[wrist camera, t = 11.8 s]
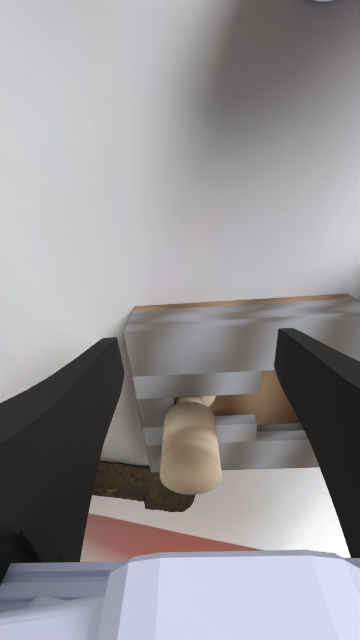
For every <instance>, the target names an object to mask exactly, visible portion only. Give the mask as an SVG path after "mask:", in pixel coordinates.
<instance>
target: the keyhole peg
mask: <svg viewBox="0 0 360 640" xmlns="http://www.w3.org/2000/svg"><path fill="white" fill-rule="evenodd" d="M215 397H216V396H194V397H174V398H175V405H174V406H172V407H171V408H170V409H169V410H168V411H167V412H166V414H165V419H164V431H163V443H162V455H161V468H160V479H161V482H162V483H163V484H164V486H166V487H167V488H168V489H170V490H172V491H174V492H177V493H181V494H189V495H194V494H201V493H205V492H208V491H210V490H212V489H214V488H215V487H216V486H217V485H218V484H219V483H220V482H221V479H222V470H221V463H220V456H219V449H218V441H217V434H216V427H215V420H214V415H213V413H212V411H211V410H210V409H209V408H208V407H209V406H210V405H211V404H212V403H213V401H214V400H215Z"/></svg>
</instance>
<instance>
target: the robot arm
mask: <svg viewBox="0 0 360 640" xmlns="http://www.w3.org/2000/svg"><path fill="white" fill-rule="evenodd" d="M274 368H275V371H276V374H277V377H278V380H279V383H280V385H281V387H282V389H283V391H284V393H285V395H286V397H287V399H288V401H289V403H290V405H291V407H292V408H293V410H294V412H295V414H296V416H297V418H298V420H299V422H300V423H301V425H302V427H303V429H304V431H305V433H306V435H307V437H308V440H309V442H310V444H311V447H312V449H313V452H314V454H315V457H316V459H317V462H318V464H319V467H320V469H321V472H322V475H323V477H324V480H325V482H326V485H327V488H328V490H329V493H330V496H331V499H332V502H333V505H334V507H335V510H336V513H337V516H338V519H339V522H340V525H341V528H342V531H343V534H344V537H345V540H346V543H347V546H348V549H349V553H350V556H351V558H342V557H340V556H338V555H336V554H335V553H327V552H318V551H310V550H279V551H225V552H224V551H222V552H221V551H220V552H162V553H155V554H148V555H142V556H135V557H133V558H131V559H129V560H127V561H125V562H80V557H81V551H82V545H83V539H84V533H85V528H86V522H87V517H88V512H89V507H90V501H91V496H92V492H93V487H94V482H95V478H96V473H97V468H98V464H99V460H100V456H101V451H102V447H103V444H104V441H105V437H106V435H107V432H108V429H109V426H110V423H111V420H112V417H113V414H114V412H115V409H116V406H117V403H118V400H119V397H120V394H121V389H122V385H123V379H124V369H123V364H122V359H121V355H120V350H119V345H118V341H117V337H113V338H103V339H101V340H100V341H98V342H97V343H95V344H94V345H93V346H91V347H90V348H89V349H88V350H86V351H85V352H84V353H82V354H81V355H80V356H78V357H77V358H76V359H74V360H73V361H72V362H70V363H69V364H67V365H66V366H64V367H63V368H61V369H60V370H59V371H57V372H56V373H54V374H53V375H51V376H50V377H48V378H47V379H45V380H43V381H42V382H40V383H38V384H36V385H35V386H33V387H31V388H30V389H28V390H26V391H24V392H22V393H20V394H18V395H16V396H14V397H12V398H10V399H8V400H6V401H4V402H2V403H0V640H360V361H358V360H356V359H354V358H351V357H349V356H347V355H345V354H343V353H341V352H339V351H337V350H335V349H333V348H331V347H329V346H327V345H325V344H323V343H322V342H320V341H318V340H316V339H314V338H312V337H310V336H309V335H307V334H305V333H303V332H301V331H299V330H297V329H294V328H279V329H278V336H277V345H276V353H275V361H274Z"/></svg>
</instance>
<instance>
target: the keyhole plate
mask: <svg viewBox="0 0 360 640" xmlns="http://www.w3.org/2000/svg"><path fill="white" fill-rule="evenodd" d="M279 328H294V329H297V330H299V331H301V332H303V333H305V334H307V335H309V336H310V337H312V338H314V339H316V340H318V341H320V342H322V343H323V344H325V345H327V346H329V347H331V348H333V349H335V350H337V351H339V352H341V353H343V354H345V355H347V356H349V357H351V358H354V359H356V360H358V361H360V301H359V300H357V299H355V298H354V297H352V296H350V295H349V294H338V295H321V296H304V297H287V298H270V299H253V300H236V301H220V302H203V303H186V304H169V305H152V306H135V307H134V309H133V312H132V314H131V316H130V318H129V321H128V323H127V325H126V328H125V330H124V337H125V342H126V347H127V352H128V357H129V362H130V368H131V373H132V378H133V383H134V388H135V393H136V398H137V403H138V408H139V413H140V419H141V424H142V429H143V434H144V439H145V444H146V449H147V454H148V459H149V465H150V470H151V472H160V468H161V455H162V443H163V431H164V419H165V414H166V412H167V411H168V410H169V409H170V408H171V407H172V406H174V405H175V398H174V397H194V396H216V397H215V400H214V401H213V403H212V404H211V405H210V406H209V407H208V408H209V409H210V410H211V411H212V413H213V415H214V420H215V427H216V434H217V441H218V449H219V456H220V463H221V470H243V469H276V468H308V467H319V464H318V462H317V459H316V457H315V454H314V452H313V449H312V447H311V444H310V442H309V440H308V437H307V435H306V433H305V431H304V429H303V427H302V425H301V423H300V422H299V420H298V418H297V416H296V414H295V412H294V410H293V408H292V407H291V405H290V403H289V401H288V399H287V397H286V395H285V393H284V391H283V389H282V387H281V385H280V383H279V380H278V377H277V374H276V371H275V368H274V361H275V353H276V345H277V336H278V329H279Z"/></svg>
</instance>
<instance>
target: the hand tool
mask: <svg viewBox="0 0 360 640" xmlns="http://www.w3.org/2000/svg"><path fill="white" fill-rule="evenodd" d="M92 495H96V496H104V497H115V498H123V499H130V500H137V501H144V503H145V508H146V509H151V510H163V511H169V512H183V511H185V510H186V509H188V508H189V507H190V506H191V505H192V503H193V501H194V498H195V495H196V494H194V495H189V494H181V493H177V492H174V491H172V490H170V489H168V488H167V487H166V486H164V484H163V483H162V482H161V479H160V472H151V470H150V467H140V466H132V465H124V464H120V463H119V464H111V463H105V462H99V464H98V468H97V473H96V478H95V482H94V487H93V492H92Z"/></svg>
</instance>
